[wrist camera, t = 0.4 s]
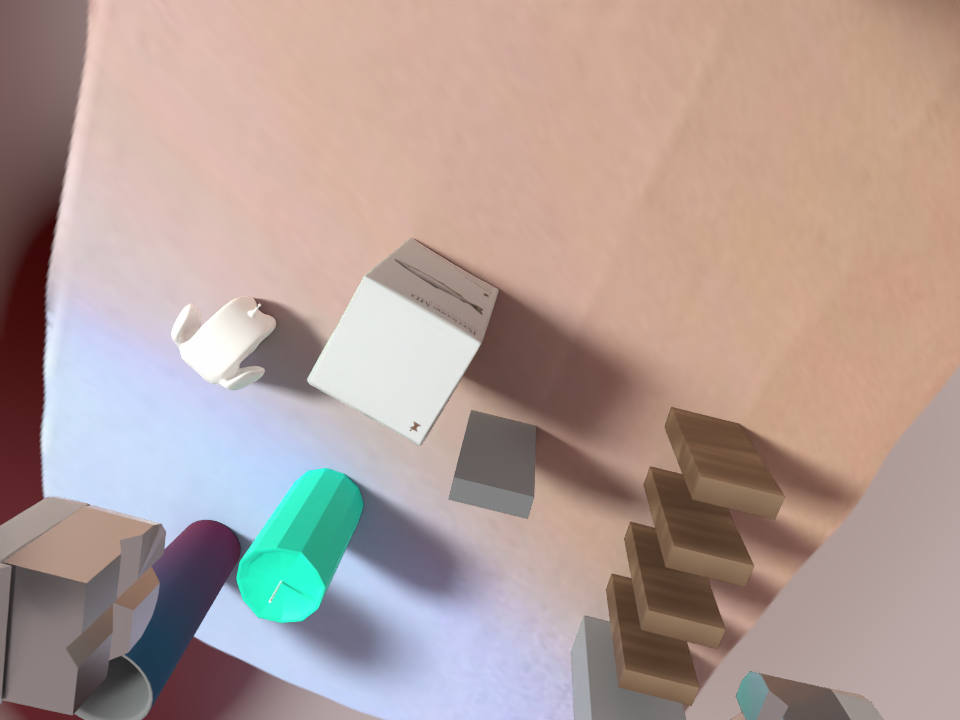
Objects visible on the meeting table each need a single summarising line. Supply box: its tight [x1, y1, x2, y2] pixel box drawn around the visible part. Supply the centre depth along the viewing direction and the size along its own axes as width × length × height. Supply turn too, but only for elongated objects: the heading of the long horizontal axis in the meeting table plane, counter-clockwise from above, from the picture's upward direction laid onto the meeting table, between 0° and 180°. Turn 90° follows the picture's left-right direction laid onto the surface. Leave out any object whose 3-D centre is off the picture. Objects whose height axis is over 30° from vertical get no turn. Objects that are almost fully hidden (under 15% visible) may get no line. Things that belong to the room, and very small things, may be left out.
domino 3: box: [624, 522, 726, 649], centre depth 48 cm, size 2×5×10 cm, turn 77°
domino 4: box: [606, 574, 699, 706], centre depth 49 cm, size 2×5×10 cm, turn 77°
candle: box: [236, 468, 364, 623], centre depth 48 cm, size 6×6×12 cm
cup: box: [74, 520, 240, 720], centre depth 49 cm, size 7×7×15 cm
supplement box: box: [307, 238, 499, 445], centre depth 42 cm, size 7×7×13 cm
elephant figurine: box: [172, 296, 276, 390], centre depth 47 cm, size 7×8×6 cm
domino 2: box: [644, 467, 754, 587], centre depth 46 cm, size 2×5×10 cm, turn 77°
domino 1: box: [665, 407, 785, 520], centre depth 44 cm, size 2×5×10 cm, turn 77°
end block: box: [571, 616, 686, 720], centre depth 50 cm, size 4×7×12 cm, turn 77°
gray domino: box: [449, 410, 536, 519], centre depth 46 cm, size 2×5×10 cm, turn 77°
